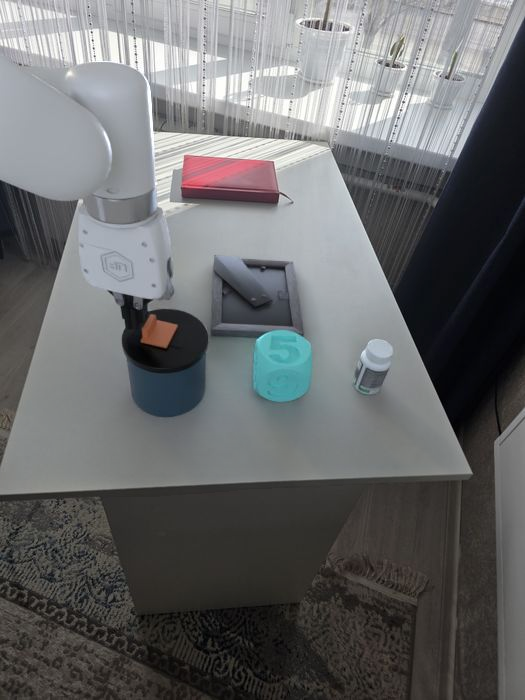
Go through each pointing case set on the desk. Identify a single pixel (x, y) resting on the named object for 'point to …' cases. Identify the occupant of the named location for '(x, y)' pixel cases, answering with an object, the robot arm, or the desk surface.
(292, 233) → the desk surface
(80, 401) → the desk surface
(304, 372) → the decorative dice
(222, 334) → the picture frame
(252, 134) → the desk surface
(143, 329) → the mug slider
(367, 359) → the pill bottle
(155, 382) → the travel mug
